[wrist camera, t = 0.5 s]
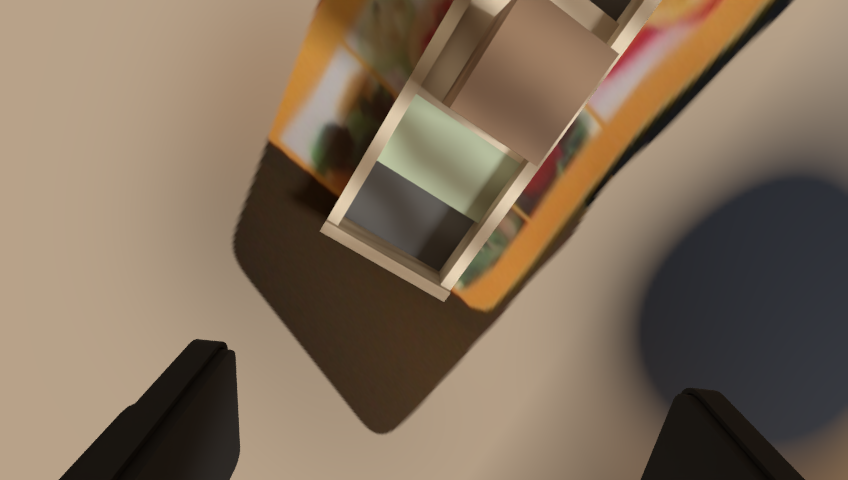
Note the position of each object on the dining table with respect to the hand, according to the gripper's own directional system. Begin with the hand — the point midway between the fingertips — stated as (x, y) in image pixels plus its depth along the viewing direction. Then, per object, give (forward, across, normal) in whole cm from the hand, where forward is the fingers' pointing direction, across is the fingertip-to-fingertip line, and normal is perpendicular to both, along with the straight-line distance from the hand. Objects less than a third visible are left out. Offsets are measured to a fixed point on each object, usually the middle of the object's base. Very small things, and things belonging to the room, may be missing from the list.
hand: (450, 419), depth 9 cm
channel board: (+28, -3, -5) cm, 29 cm away
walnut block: (+27, -4, -7) cm, 28 cm away
